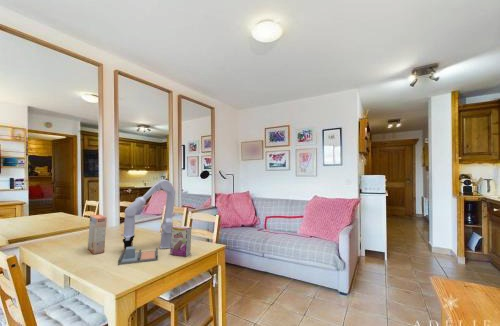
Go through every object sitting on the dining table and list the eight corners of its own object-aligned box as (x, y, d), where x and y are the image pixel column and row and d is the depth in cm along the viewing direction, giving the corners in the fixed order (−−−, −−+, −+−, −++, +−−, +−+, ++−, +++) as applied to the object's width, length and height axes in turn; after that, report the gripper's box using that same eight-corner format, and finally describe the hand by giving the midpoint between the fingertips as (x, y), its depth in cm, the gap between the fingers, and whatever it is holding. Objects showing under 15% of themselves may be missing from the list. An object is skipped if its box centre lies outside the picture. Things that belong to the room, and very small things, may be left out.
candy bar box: (169, 254, 132) (170, 226, 132) (175, 252, 136) (176, 225, 137) (185, 257, 128) (186, 228, 129) (190, 254, 133) (191, 226, 133)
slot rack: (157, 252, 136) (157, 247, 136) (157, 260, 123) (157, 255, 123) (121, 255, 128) (122, 251, 128) (118, 264, 115) (118, 260, 115)
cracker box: (105, 252, 132) (107, 217, 134) (92, 255, 128) (95, 218, 129) (98, 247, 142) (100, 213, 143) (87, 249, 138) (89, 215, 139)
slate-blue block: (134, 255, 127) (135, 246, 127) (134, 257, 122) (134, 248, 123) (125, 256, 125) (126, 246, 125) (124, 258, 121) (125, 249, 121)
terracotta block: (132, 250, 138) (133, 242, 138) (131, 252, 133) (132, 244, 134) (124, 251, 136) (124, 242, 136) (123, 253, 132) (123, 244, 132)
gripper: (123, 224, 141) (122, 246, 140) (120, 230, 127) (118, 254, 127) (136, 223, 143) (134, 245, 143) (133, 229, 130) (132, 252, 129)
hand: (128, 249), depth 135 cm, fingers closed on terracotta block, 4 cm apart
